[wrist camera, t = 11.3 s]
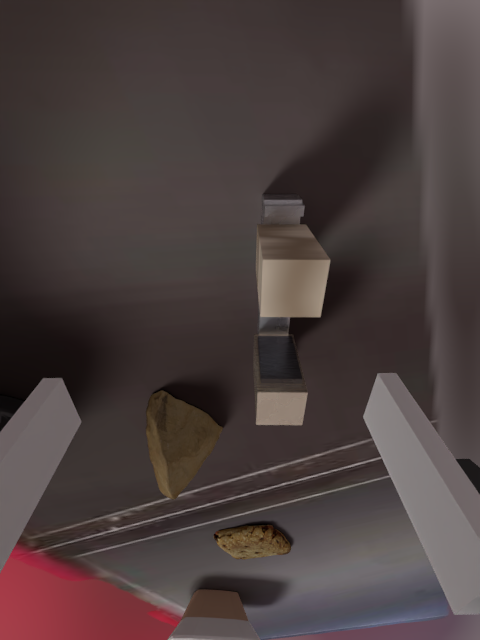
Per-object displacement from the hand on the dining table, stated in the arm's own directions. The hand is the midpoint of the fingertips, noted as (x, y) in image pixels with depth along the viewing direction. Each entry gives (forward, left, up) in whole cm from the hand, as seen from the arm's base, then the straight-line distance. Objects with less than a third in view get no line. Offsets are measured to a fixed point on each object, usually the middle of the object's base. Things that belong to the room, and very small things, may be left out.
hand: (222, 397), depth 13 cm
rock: (-23, +7, -18) cm, 30 cm away
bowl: (-102, +7, -18) cm, 104 cm away
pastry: (-64, -3, -19) cm, 66 cm away
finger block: (+1, -4, -16) cm, 16 cm away
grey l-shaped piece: (-4, -4, -18) cm, 19 cm away
